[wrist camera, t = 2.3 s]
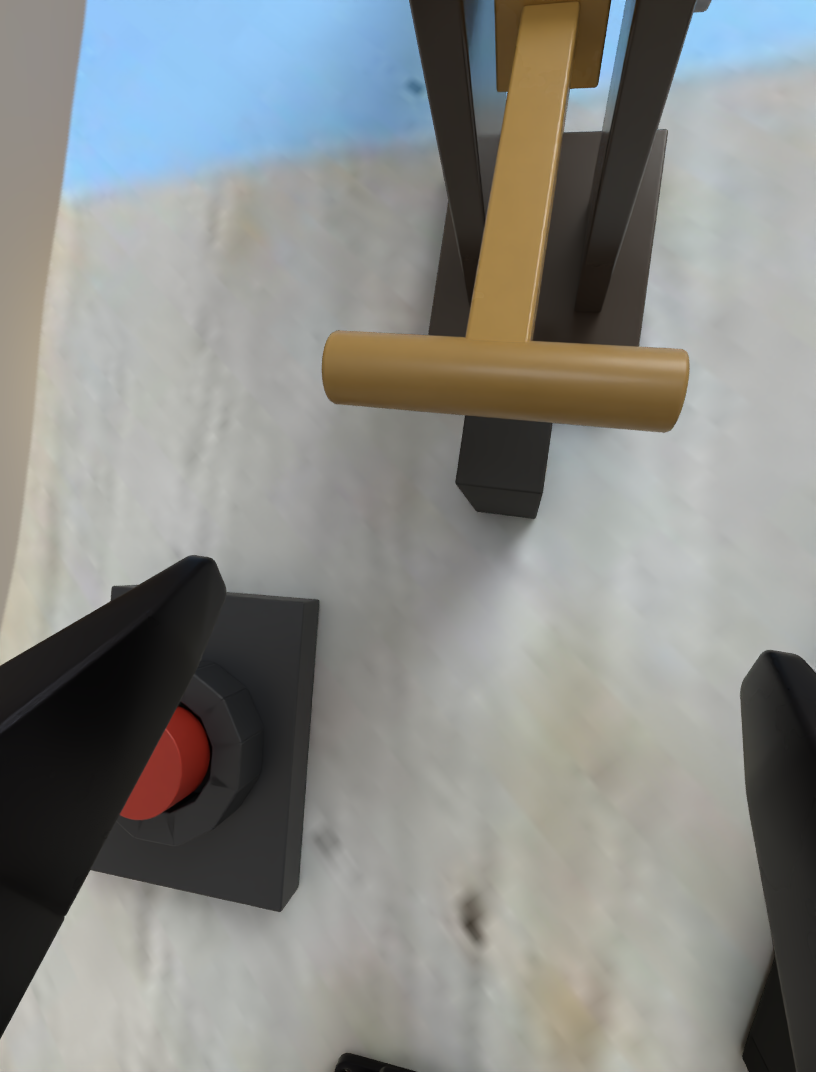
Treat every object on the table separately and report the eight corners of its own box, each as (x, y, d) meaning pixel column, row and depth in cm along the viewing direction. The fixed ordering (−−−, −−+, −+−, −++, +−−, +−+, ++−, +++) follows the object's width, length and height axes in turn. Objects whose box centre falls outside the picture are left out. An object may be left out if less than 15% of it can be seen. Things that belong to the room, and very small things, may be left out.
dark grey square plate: (299, 887, 22) (258, 945, 19) (114, 849, 24) (47, 895, 20) (320, 599, 23) (284, 604, 19) (139, 584, 24) (77, 587, 21)
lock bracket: (627, 400, 20) (792, 132, 8) (426, 385, 22) (305, 145, 10) (660, 152, 21) (870, -477, 8) (460, 156, 23) (385, -358, 10)
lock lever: (654, 456, 10) (699, 395, 7) (346, 426, 11) (302, 367, 9) (702, -22, 11) (750, -189, 9) (435, 2, 13) (418, -140, 10)
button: (206, 806, 20) (176, 829, 18) (124, 792, 20) (88, 812, 19) (214, 709, 20) (185, 722, 18) (132, 698, 21) (97, 709, 19)
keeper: (535, 519, 21) (542, 494, 14) (475, 511, 21) (454, 484, 15) (546, 444, 21) (557, 385, 14) (486, 439, 22) (470, 379, 15)
